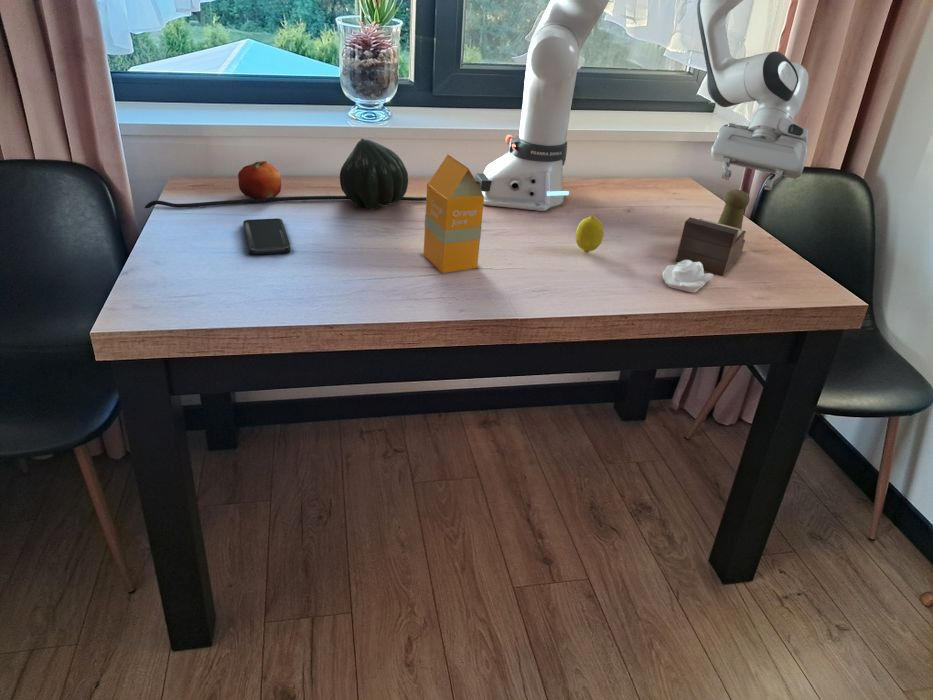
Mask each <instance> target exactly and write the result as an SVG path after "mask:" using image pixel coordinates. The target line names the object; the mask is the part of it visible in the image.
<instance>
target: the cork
mask: <svg viewBox="0 0 933 700" xmlns="http://www.w3.org/2000/svg"><path fill="white" fill-rule="evenodd" d="M750 199H751V198H750V194H749V193H748V192H746V191H743V190H741V189H731V190H728V191H727V192H726V193H725V196H724V204H725V205H724V208H723V210H722V211H721V214H720V217H719V219H718V221H717V223H720V224H723V225H727V226H731V227H735V228H738V229H742V228H743V222H744V215H745V214H744V213H745V208H747V207H748V205H749V204H750V201H751V200H750ZM742 230H743V229H742Z"/></svg>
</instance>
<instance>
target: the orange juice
mask: <svg viewBox="0 0 933 700" xmlns="http://www.w3.org/2000/svg"><path fill="white" fill-rule="evenodd" d="M446 154H447V155H446V156H445V158H444V159H443V161H441V164H440V165H439V167H438V168H437V169H436V171H435V173H434V174H433V176H432V177H431V178H430V180H429V181H428V183H427V184H426V197H427V199H426V201H425V202H426V203H425V215H424V236H423V237H424V238H423V239H424V240H423V256H424V257H425V258H426V259H427V260H428V261H429V262H430V263H431V264H433V266H435V268H437V269H438V270H439V271H440V272H441V273H442V274H445V273H446V274H447V273H453V272H459V271H466V270H472V269H478V263H479V253H480V245H481V244H480V242H481V236H482V221H483V212H484V205H483V202H484V197H485V196H484V195H483V193H482V191H481V189H480V188H479V186H478V184H477V183H476V181H475V178H474V177H475V176H473V174H472V172H471V170H470V169H469V167H467V166H466V165H465V164H463V163H461V162H460V161H458V160H457V159H455V158H454V157H452V156H451V155H450V154H448V153H446Z"/></svg>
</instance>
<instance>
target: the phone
mask: <svg viewBox="0 0 933 700" xmlns="http://www.w3.org/2000/svg"><path fill="white" fill-rule="evenodd" d="M242 223H243V231H244V235H245V236H244V237H245V240H246V241H245V242H246V246H247V251H248V254H249V255H250V256H261V255H277V254H288V253H290V252H291V244H290V240H289V236H288V233H287V230H286V228H285V224H284V221H283V219H282V218H257V219H256V218H255V219H253V218H252V219H245V220H243V222H242Z"/></svg>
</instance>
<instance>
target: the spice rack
mask: <svg viewBox="0 0 933 700" xmlns="http://www.w3.org/2000/svg"><path fill="white" fill-rule="evenodd" d="M745 236H746V230H744V229H738V228H735V227H731V226H727V225H723V224H720V223H718V222H716V221H712V220H708V219H704V218H695V217H690V216H689V217H688V218H687V219H686V220H685V221H684V225H683V228H682V234H681V237H680V241H679V245H678V250H677V253H676V257H675V263H677V264H678V263H679V262H681V261H683V260H690V261H692V262H701V263H702V265H703V268H704V272H707V273H711V274H715V275H718V276H724V275H725V274H726V273H727V272H728V270H729V269H730V268H731V267H732V265H733V264H734V263H735V262H736V261H737V259H738V258H739V257H740V255H741V254H742V253H743V250H744V246H745V243H746V239H744V238H745Z"/></svg>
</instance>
